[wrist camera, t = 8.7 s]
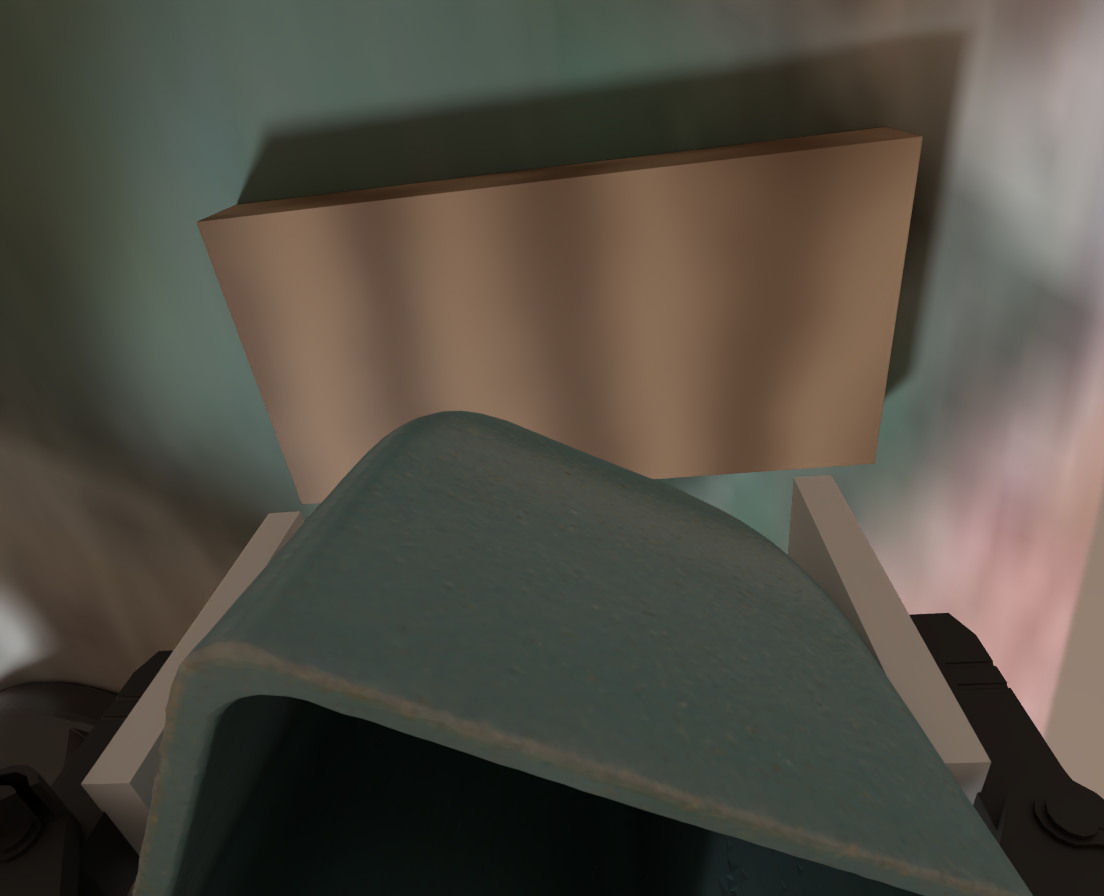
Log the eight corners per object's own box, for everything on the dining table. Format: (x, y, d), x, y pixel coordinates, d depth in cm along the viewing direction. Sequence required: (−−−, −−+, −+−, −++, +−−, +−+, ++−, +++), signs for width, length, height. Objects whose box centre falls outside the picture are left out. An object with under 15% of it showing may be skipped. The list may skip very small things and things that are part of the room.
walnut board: (325, 467, 32) (302, 504, 29) (235, 204, 26) (196, 222, 23) (849, 427, 29) (874, 463, 27) (886, 126, 23) (922, 136, 21)
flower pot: (423, 286, 13) (167, 646, 5) (817, 452, 14) (1083, 932, 6) (320, 595, 17) (97, 1043, 9) (630, 699, 19) (658, 1164, 11)
